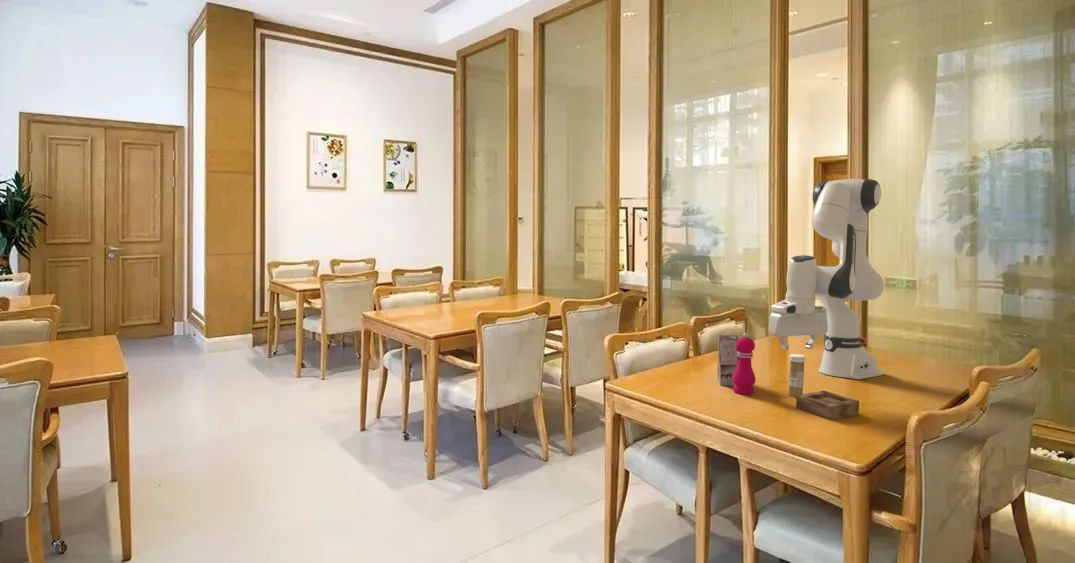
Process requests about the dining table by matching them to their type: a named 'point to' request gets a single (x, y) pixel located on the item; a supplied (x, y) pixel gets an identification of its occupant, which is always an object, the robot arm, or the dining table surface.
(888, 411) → the dining table surface
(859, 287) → the robot arm
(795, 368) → the sprinkles bottle
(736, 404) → the dining table surface
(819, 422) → the dining table surface
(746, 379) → the pepper mill
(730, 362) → the coffee box
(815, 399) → the walnut pedestal
